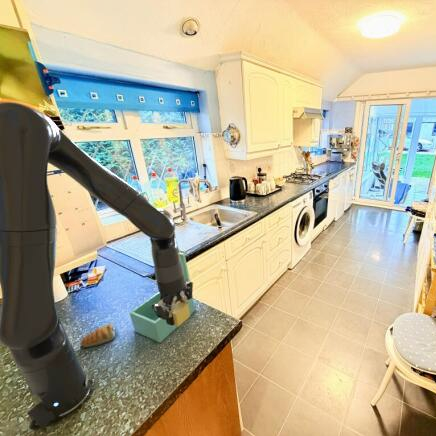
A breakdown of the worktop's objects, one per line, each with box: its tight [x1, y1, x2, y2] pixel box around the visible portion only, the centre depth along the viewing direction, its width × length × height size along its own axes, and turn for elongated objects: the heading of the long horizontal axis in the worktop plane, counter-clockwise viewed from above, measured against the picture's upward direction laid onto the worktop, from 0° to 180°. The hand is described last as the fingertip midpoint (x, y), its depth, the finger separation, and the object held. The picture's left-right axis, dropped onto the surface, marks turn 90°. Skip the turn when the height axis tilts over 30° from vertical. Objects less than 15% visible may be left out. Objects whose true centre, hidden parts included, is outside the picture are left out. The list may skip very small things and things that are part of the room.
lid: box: [178, 248, 191, 282], centre depth 93 cm, size 17×13×5 cm
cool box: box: [129, 291, 196, 343], centre depth 89 cm, size 17×13×9 cm
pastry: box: [80, 323, 116, 348], centre depth 82 cm, size 9×7×4 cm
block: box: [168, 301, 191, 328], centre depth 76 cm, size 5×5×5 cm
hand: (178, 318), depth 77 cm, fingers closed on block, 5 cm apart
